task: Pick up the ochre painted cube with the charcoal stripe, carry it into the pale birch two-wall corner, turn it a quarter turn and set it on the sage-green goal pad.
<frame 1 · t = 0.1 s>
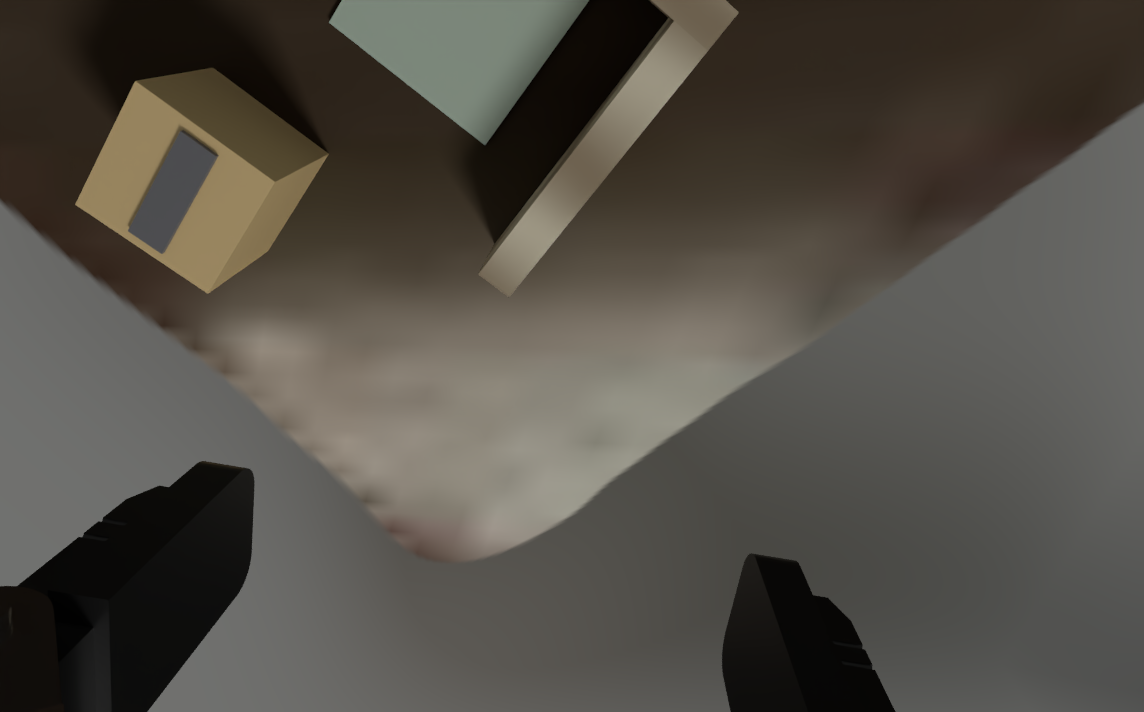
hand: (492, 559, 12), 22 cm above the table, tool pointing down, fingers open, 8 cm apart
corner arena: (448, 26, 30), on the table
ochre cube: (242, 163, 33), on the table
goal pad: (462, 4, 29), on the table
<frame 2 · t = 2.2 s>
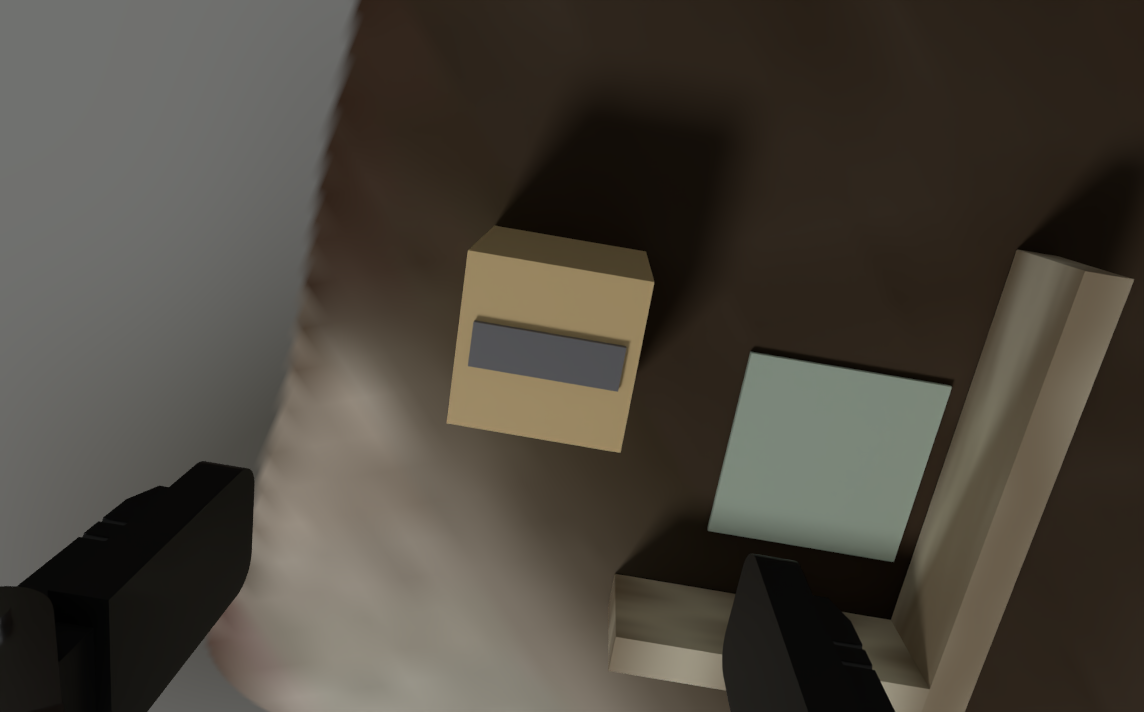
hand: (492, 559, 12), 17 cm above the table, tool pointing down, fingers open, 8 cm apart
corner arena: (798, 455, 29), on the table
ochre cube: (558, 311, 28), on the table
goal pad: (823, 459, 29), on the table
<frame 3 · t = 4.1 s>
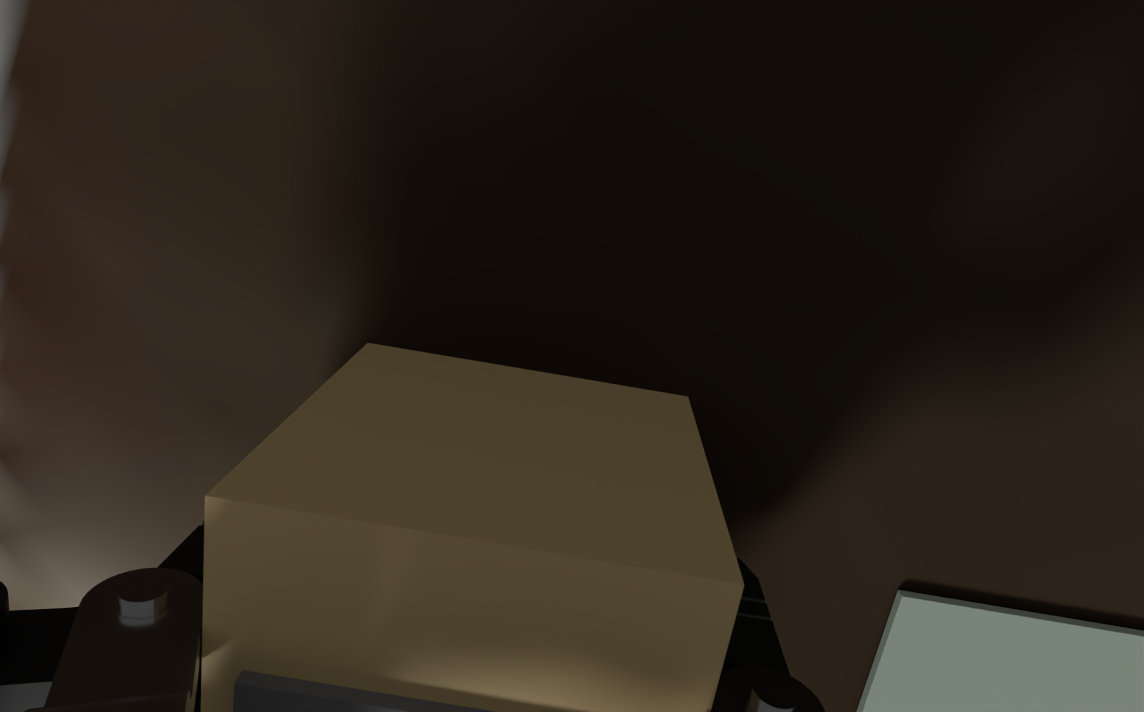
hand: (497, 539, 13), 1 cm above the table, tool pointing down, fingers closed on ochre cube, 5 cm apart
ochre cube: (506, 512, 14), on the table, touching gripper
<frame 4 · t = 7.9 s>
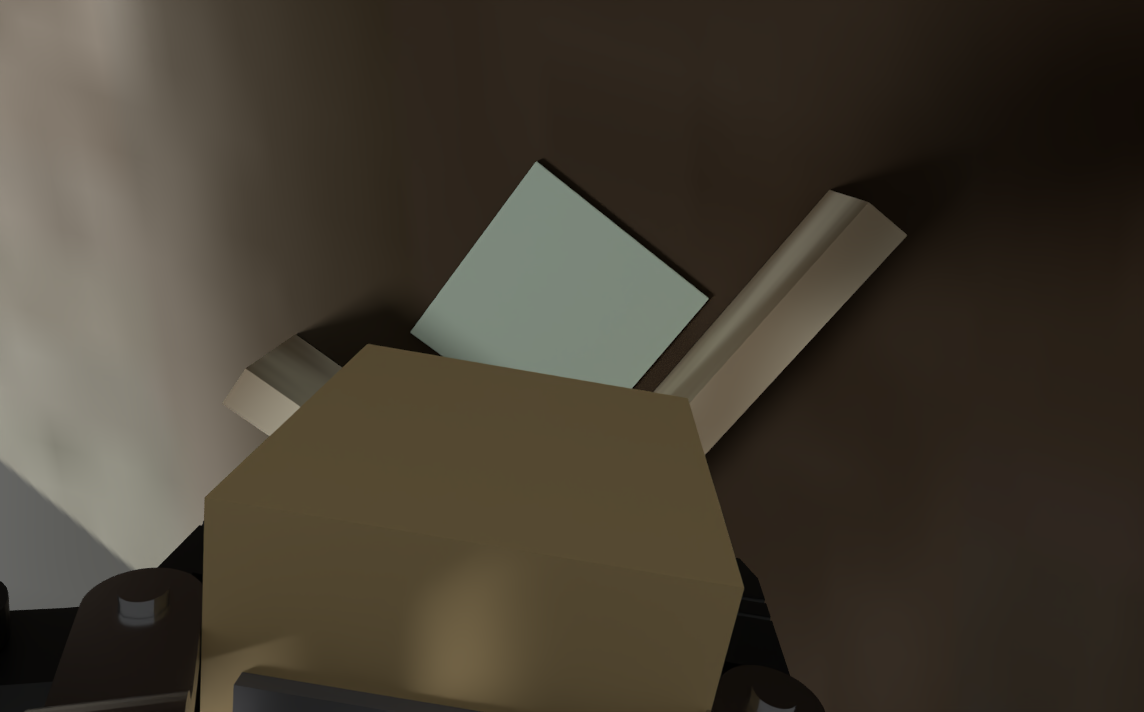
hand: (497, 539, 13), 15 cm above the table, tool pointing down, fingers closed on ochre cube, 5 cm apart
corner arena: (534, 297, 27), on the table
ochre cube: (505, 513, 14), point 14 cm above the table, touching gripper
goal pad: (557, 314, 27), on the table
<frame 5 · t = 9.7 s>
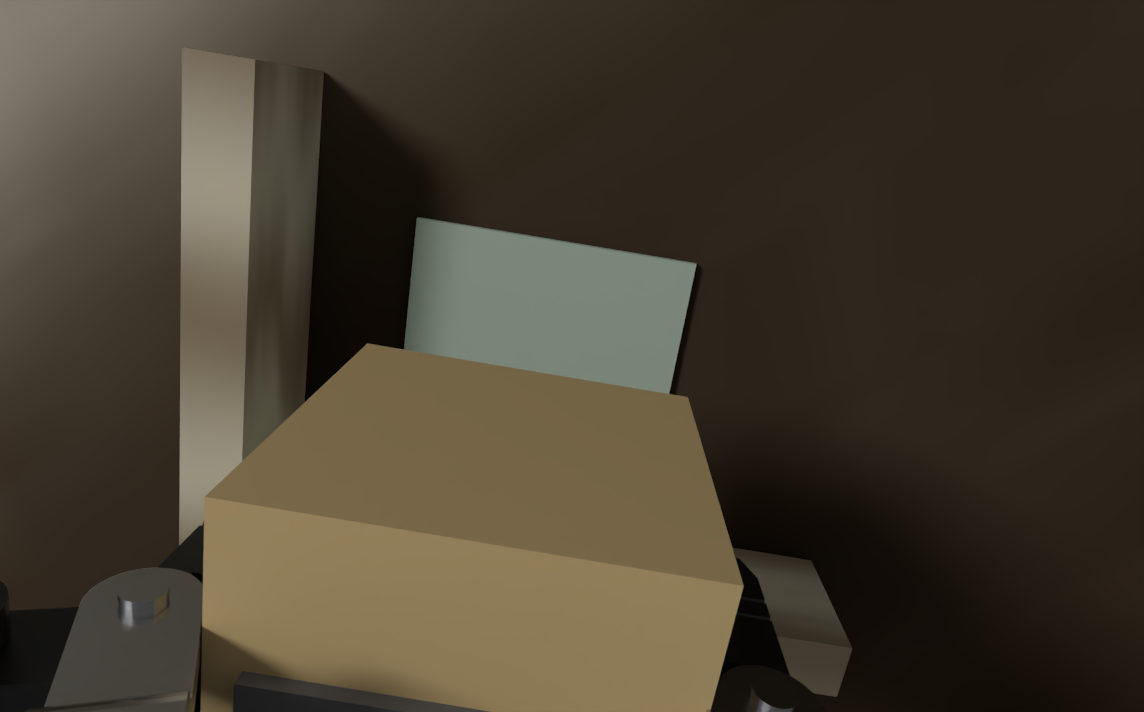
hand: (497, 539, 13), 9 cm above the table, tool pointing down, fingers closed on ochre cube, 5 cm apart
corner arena: (542, 337, 21), on the table
ochre cube: (505, 513, 14), point 8 cm above the table, touching gripper
goal pad: (537, 371, 22), on the table
when the fingers open (2 cm above the table, at t = 11.6 s): ochre cube drops 1 cm, resting on goal pad.
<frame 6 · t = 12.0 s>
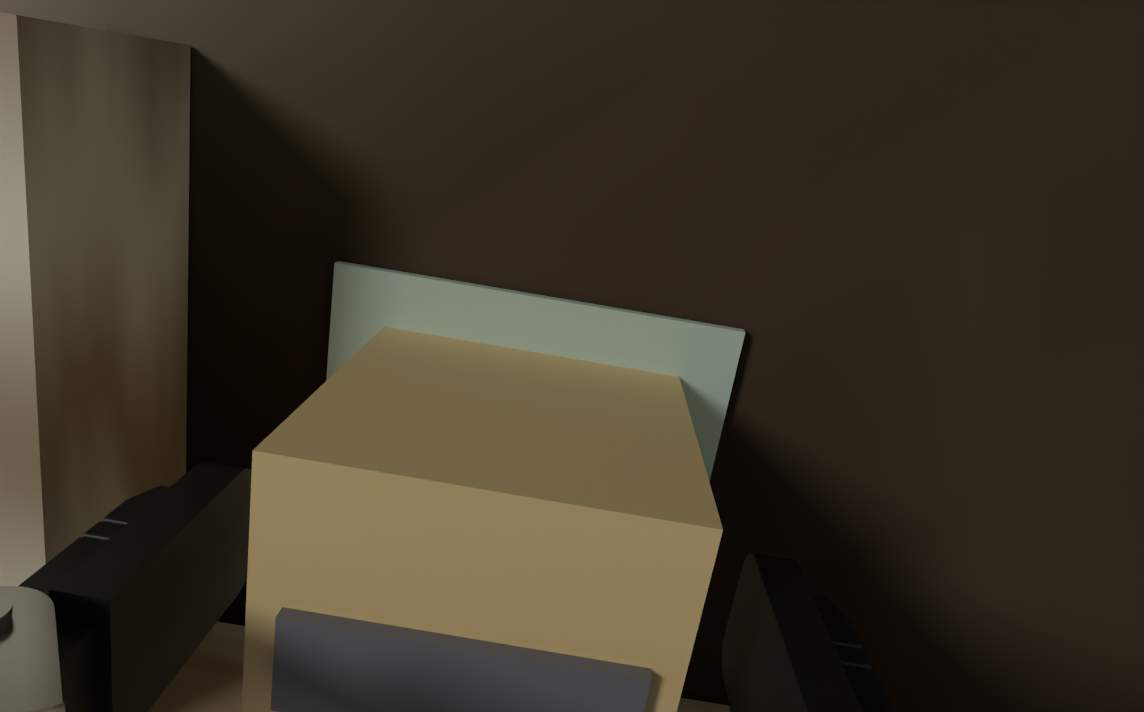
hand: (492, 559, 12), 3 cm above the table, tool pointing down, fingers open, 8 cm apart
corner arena: (520, 432, 15), on the table
ochre cube: (511, 484, 15), resting on goal pad
goal pad: (513, 478, 15), on the table
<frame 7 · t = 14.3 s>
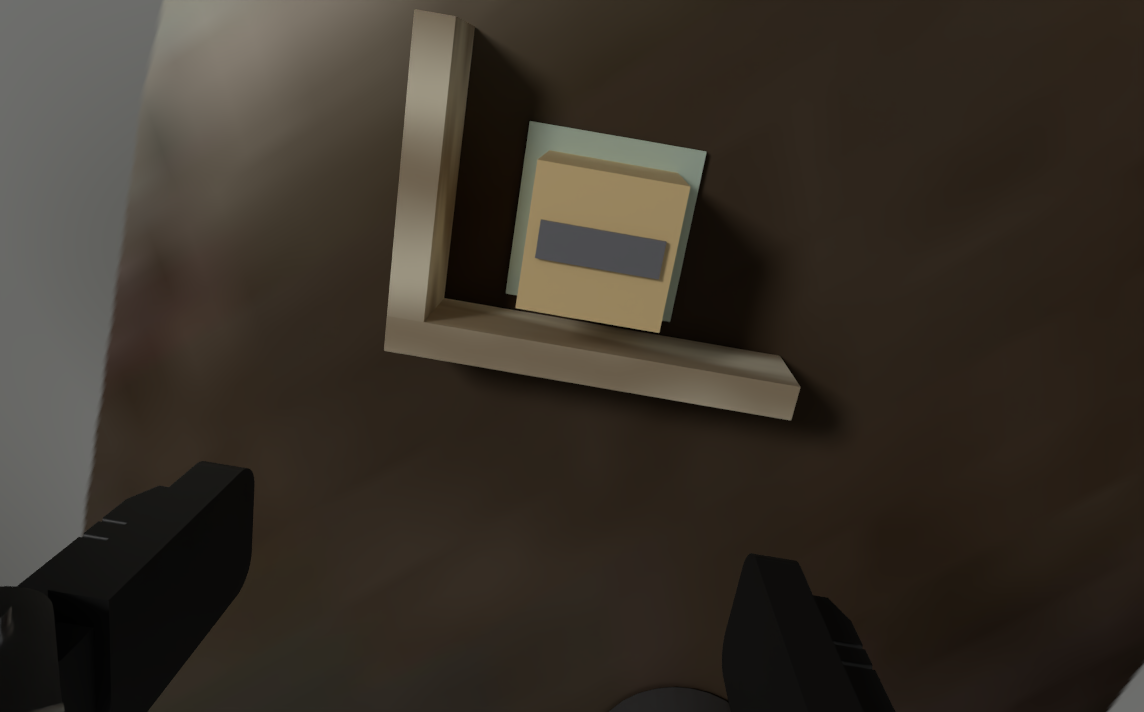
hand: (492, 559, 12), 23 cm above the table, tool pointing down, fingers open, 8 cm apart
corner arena: (606, 201, 33), on the table
ochre cube: (602, 225, 33), resting on goal pad
goal pad: (602, 224, 33), on the table
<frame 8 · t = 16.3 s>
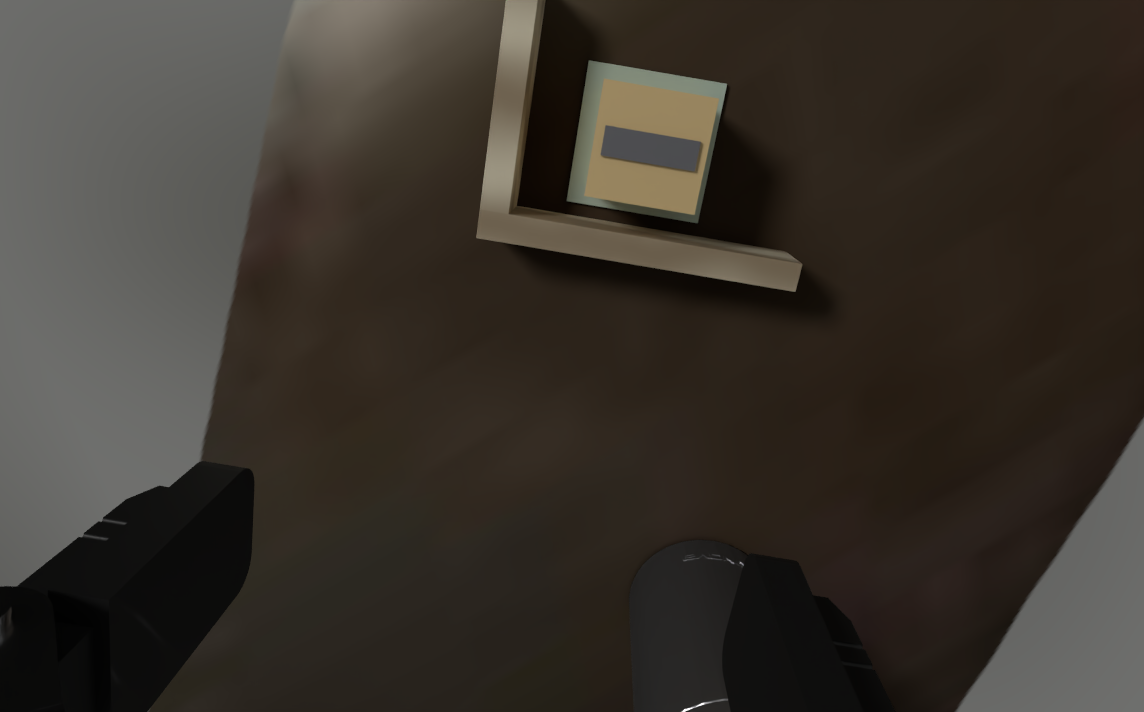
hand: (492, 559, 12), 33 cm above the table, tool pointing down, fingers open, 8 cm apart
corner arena: (648, 125, 42), on the table
ochre cube: (644, 144, 42), resting on goal pad
goal pad: (644, 143, 42), on the table
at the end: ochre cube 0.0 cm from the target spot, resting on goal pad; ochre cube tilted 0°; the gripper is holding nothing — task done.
